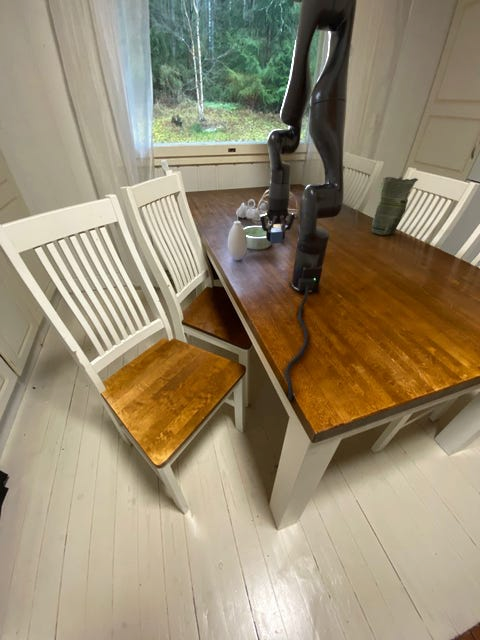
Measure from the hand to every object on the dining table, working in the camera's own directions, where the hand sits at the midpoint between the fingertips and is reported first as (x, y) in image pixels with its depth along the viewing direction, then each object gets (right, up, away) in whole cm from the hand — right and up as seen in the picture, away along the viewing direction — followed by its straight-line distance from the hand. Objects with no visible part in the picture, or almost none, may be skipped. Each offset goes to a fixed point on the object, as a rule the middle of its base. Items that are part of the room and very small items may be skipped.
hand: (275, 240), depth 110 cm
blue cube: (0, 0, 0) cm, 0 cm away
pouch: (+57, +11, +26) cm, 63 cm away
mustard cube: (+4, +9, +22) cm, 24 cm away
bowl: (-7, +3, +14) cm, 16 cm away
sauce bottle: (-15, -8, +2) cm, 17 cm away
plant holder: (+1, +25, +42) cm, 49 cm away
